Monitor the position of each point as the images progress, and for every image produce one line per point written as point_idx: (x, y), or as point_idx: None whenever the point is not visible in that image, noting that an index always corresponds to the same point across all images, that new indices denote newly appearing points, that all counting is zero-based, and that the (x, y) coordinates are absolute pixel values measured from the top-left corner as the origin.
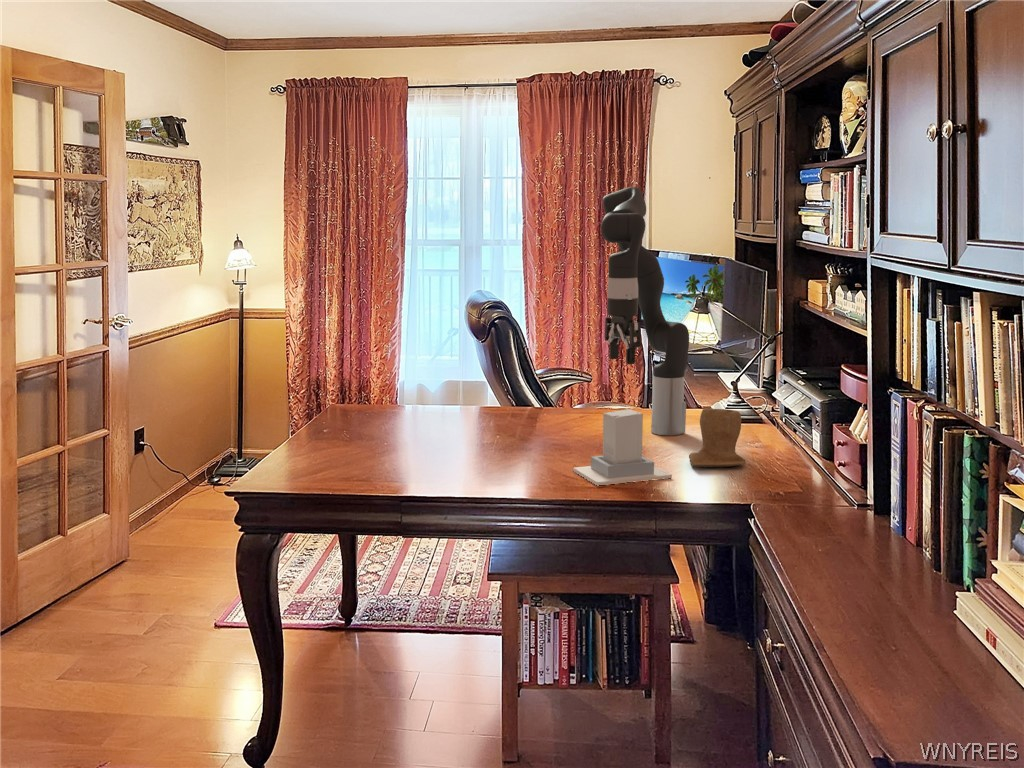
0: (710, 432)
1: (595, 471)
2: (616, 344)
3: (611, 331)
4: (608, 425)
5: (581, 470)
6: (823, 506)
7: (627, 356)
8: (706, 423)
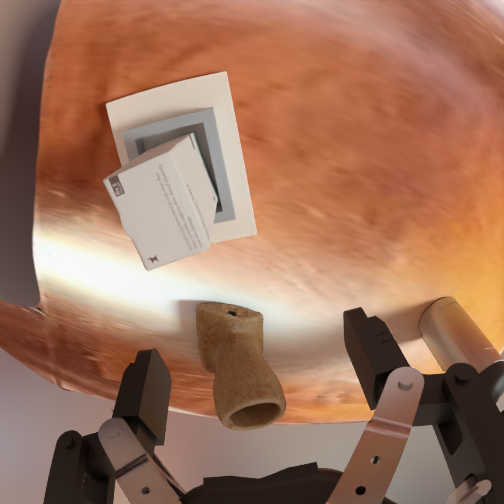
0: (223, 371)
1: (186, 112)
2: (371, 401)
3: (365, 481)
4: (146, 156)
5: (198, 83)
6: (52, 369)
7: (131, 381)
8: (230, 379)
